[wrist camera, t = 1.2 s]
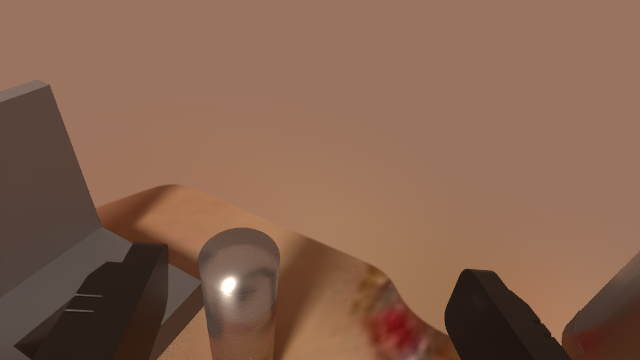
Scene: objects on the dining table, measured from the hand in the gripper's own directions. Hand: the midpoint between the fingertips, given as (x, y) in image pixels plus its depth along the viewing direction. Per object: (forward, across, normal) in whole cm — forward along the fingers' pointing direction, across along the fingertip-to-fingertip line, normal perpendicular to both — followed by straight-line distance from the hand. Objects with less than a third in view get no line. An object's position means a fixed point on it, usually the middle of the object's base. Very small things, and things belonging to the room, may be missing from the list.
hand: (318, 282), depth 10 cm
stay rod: (+10, +1, +18) cm, 21 cm away
